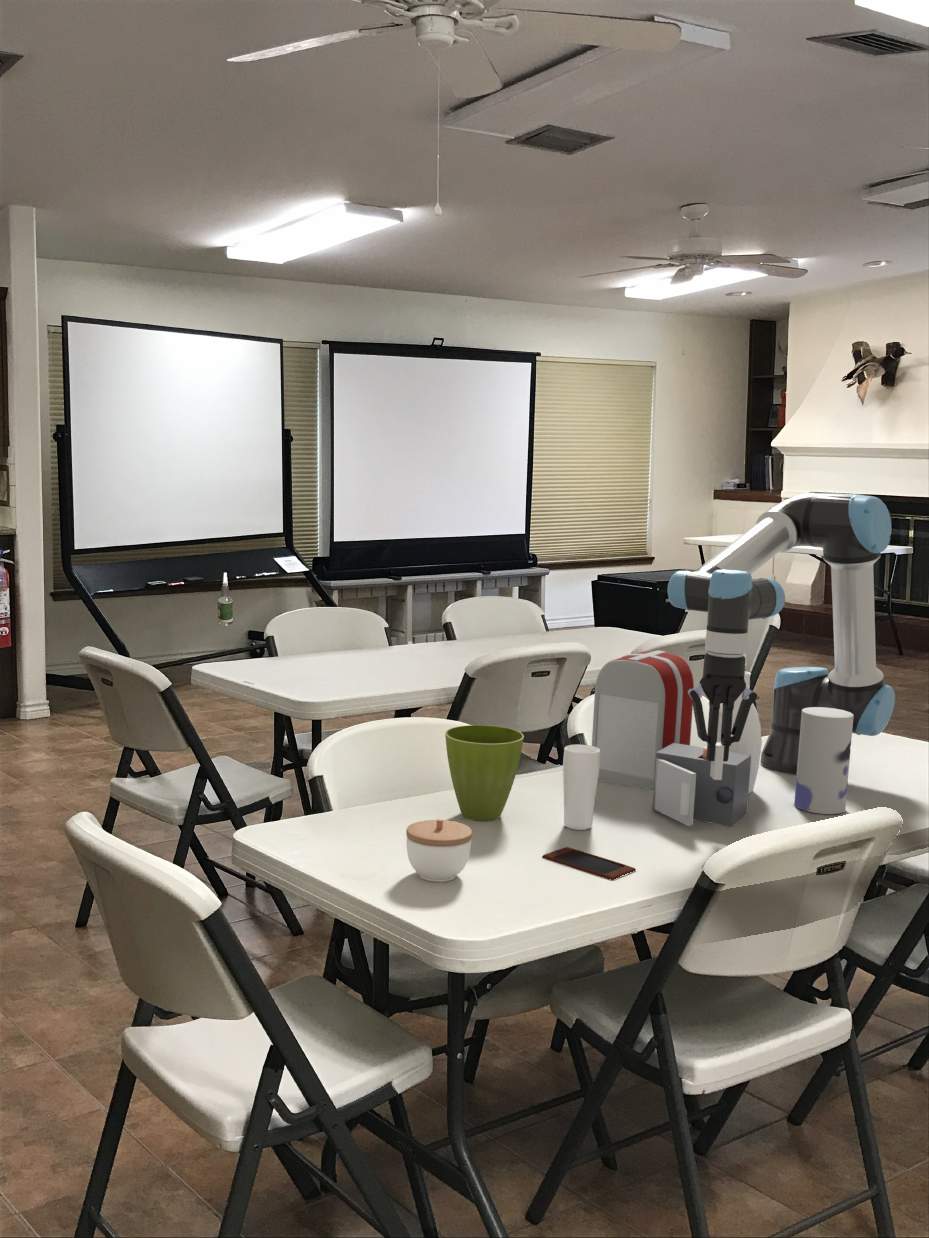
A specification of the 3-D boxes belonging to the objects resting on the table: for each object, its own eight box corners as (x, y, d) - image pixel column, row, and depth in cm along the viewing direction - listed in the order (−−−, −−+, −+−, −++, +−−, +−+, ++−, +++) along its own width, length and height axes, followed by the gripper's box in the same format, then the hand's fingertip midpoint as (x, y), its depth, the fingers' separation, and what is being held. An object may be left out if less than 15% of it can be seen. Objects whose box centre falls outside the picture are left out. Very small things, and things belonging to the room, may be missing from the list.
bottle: (700, 792, 250) (708, 673, 247) (709, 779, 261) (718, 665, 257) (753, 799, 246) (763, 679, 243) (761, 786, 257) (770, 670, 253)
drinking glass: (599, 824, 225) (604, 746, 223) (591, 834, 219) (596, 754, 217) (564, 819, 227) (569, 742, 225) (555, 829, 221) (560, 750, 219)
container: (847, 817, 237) (856, 718, 234) (795, 812, 239) (803, 714, 236) (842, 803, 246) (850, 708, 244) (792, 798, 248) (800, 704, 246)
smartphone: (566, 845, 210) (637, 867, 200) (566, 850, 210) (636, 872, 200) (541, 854, 205) (612, 877, 195) (540, 859, 205) (612, 883, 195)
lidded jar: (403, 863, 199) (405, 809, 198) (467, 864, 200) (469, 810, 199) (405, 886, 188) (407, 829, 187) (473, 887, 189) (475, 830, 188)
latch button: (705, 759, 233) (706, 747, 233) (720, 761, 232) (721, 749, 231) (700, 762, 231) (701, 749, 230) (715, 765, 229) (716, 752, 229)
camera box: (669, 800, 243) (673, 742, 242) (746, 814, 236) (751, 755, 234) (650, 812, 234) (654, 753, 232) (730, 828, 226) (734, 766, 225)
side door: (656, 807, 234) (659, 758, 233) (692, 825, 224) (696, 773, 222) (648, 808, 233) (652, 758, 232) (684, 826, 223) (688, 774, 221)
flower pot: (505, 832, 218) (509, 747, 216) (430, 820, 223) (433, 737, 221) (529, 810, 232) (533, 730, 230) (458, 800, 237) (461, 721, 235)
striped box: (690, 774, 264) (698, 654, 261) (658, 791, 250) (666, 664, 246) (622, 761, 273) (629, 645, 270) (587, 777, 258) (594, 654, 255)
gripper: (753, 651, 224) (744, 773, 228) (685, 649, 224) (676, 771, 227) (766, 658, 217) (755, 784, 220) (695, 655, 216) (686, 782, 219)
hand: (715, 777), depth 223 cm, fingers closed
